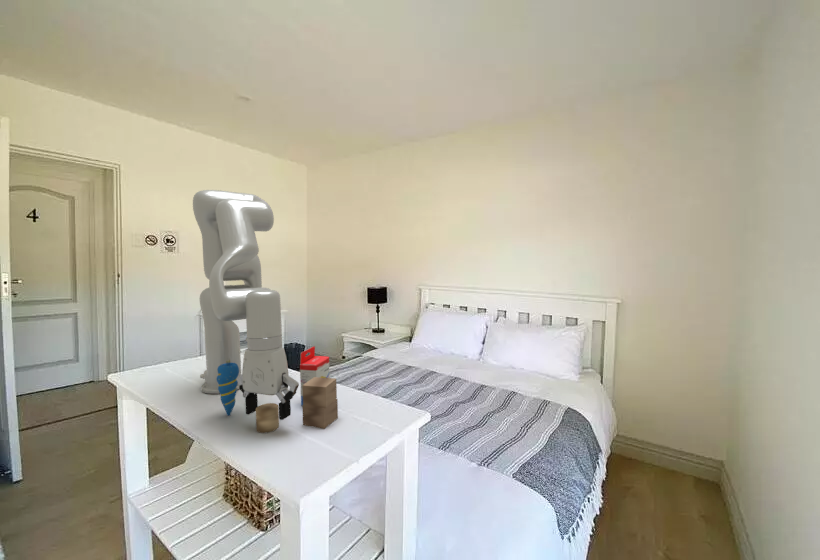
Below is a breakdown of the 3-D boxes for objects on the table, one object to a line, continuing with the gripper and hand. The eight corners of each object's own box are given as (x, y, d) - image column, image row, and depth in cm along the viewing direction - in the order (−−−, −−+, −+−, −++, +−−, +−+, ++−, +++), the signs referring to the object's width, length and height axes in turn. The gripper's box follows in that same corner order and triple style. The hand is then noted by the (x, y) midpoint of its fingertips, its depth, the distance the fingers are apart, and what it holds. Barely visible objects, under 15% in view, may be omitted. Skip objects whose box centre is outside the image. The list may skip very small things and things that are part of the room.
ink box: (317, 408, 96) (316, 354, 95) (300, 406, 97) (298, 353, 96) (330, 395, 104) (329, 346, 103) (314, 394, 105) (313, 345, 104)
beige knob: (251, 431, 84) (250, 410, 83) (267, 421, 88) (266, 401, 88) (268, 434, 82) (268, 413, 82) (283, 424, 87) (282, 404, 86)
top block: (302, 405, 86) (302, 385, 85) (314, 396, 91) (314, 377, 91) (326, 407, 84) (325, 387, 84) (336, 398, 90) (336, 378, 90)
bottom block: (302, 425, 86) (302, 405, 86) (317, 414, 92) (317, 395, 92) (324, 429, 84) (323, 408, 84) (337, 418, 90) (337, 398, 90)
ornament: (219, 413, 93) (216, 356, 92) (241, 409, 95) (238, 354, 94) (217, 421, 89) (214, 361, 87) (240, 417, 91) (238, 359, 90)
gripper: (223, 344, 83) (227, 416, 84) (284, 349, 77) (287, 427, 78) (248, 337, 90) (251, 404, 91) (306, 341, 84) (308, 413, 85)
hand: (268, 414), depth 85 cm, fingers open, 9 cm apart
